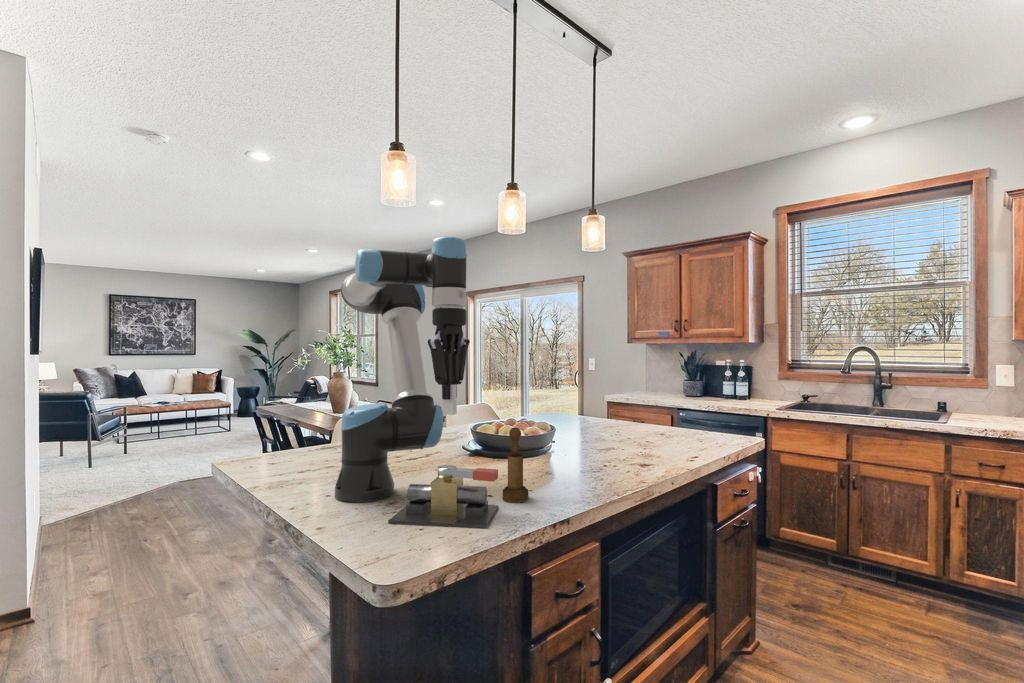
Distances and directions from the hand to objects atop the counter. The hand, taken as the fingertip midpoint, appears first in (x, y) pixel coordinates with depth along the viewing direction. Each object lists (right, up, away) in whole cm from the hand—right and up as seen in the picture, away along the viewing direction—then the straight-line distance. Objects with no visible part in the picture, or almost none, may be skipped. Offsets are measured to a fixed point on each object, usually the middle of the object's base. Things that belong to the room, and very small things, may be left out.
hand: (449, 413), depth 114 cm
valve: (-1, -24, +4) cm, 24 cm away
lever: (+3, -15, +4) cm, 16 cm away
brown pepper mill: (+15, -24, +16) cm, 32 cm away
